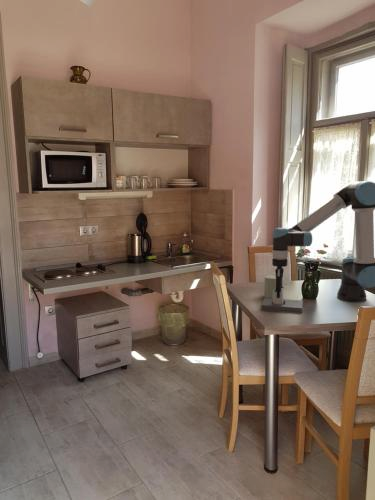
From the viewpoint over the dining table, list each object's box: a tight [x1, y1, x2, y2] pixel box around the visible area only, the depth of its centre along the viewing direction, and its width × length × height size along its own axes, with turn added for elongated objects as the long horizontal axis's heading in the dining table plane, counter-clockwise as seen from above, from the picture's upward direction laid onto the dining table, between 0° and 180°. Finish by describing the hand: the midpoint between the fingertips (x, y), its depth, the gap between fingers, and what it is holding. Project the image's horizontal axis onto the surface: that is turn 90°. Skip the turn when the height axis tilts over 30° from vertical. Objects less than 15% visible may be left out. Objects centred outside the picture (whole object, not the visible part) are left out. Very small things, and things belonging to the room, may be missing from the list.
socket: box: [260, 297, 304, 314], centre depth 207 cm, size 20×14×2 cm
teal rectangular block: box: [273, 289, 284, 305], centre depth 207 cm, size 5×4×8 cm
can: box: [263, 274, 276, 298], centre depth 227 cm, size 9×9×12 cm
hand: (278, 302), depth 207 cm, fingers open, 5 cm apart
